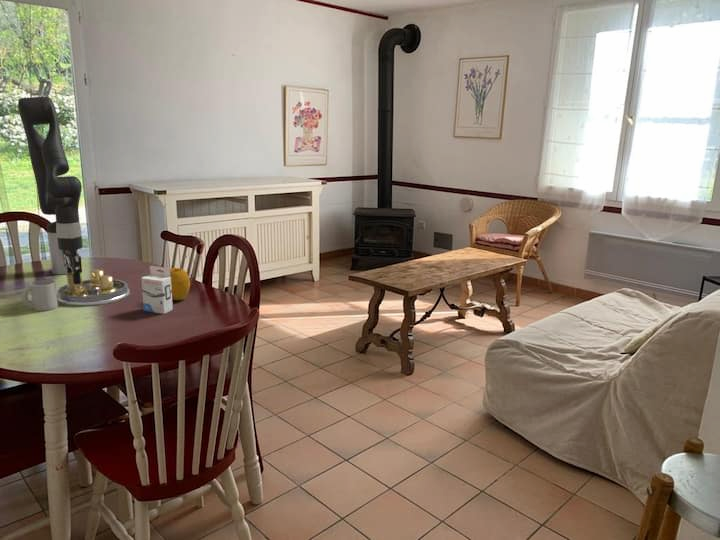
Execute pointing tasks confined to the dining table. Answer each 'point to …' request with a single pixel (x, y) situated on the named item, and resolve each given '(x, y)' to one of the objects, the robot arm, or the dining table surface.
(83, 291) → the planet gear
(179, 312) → the dining table surface
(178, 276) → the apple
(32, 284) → the cup
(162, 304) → the ink box
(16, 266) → the dining table surface
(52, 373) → the dining table surface
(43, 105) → the robot arm
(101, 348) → the dining table surface
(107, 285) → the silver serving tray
